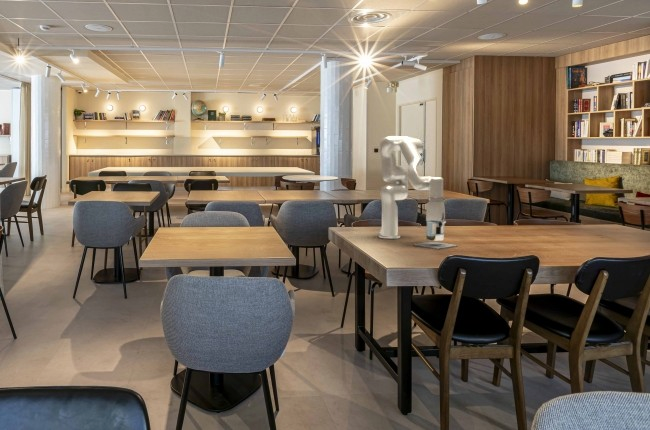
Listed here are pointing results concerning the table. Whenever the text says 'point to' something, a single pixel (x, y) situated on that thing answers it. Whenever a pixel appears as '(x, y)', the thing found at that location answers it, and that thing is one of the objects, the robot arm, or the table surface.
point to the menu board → (433, 229)
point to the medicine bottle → (435, 238)
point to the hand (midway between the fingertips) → (435, 233)
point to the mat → (435, 245)
